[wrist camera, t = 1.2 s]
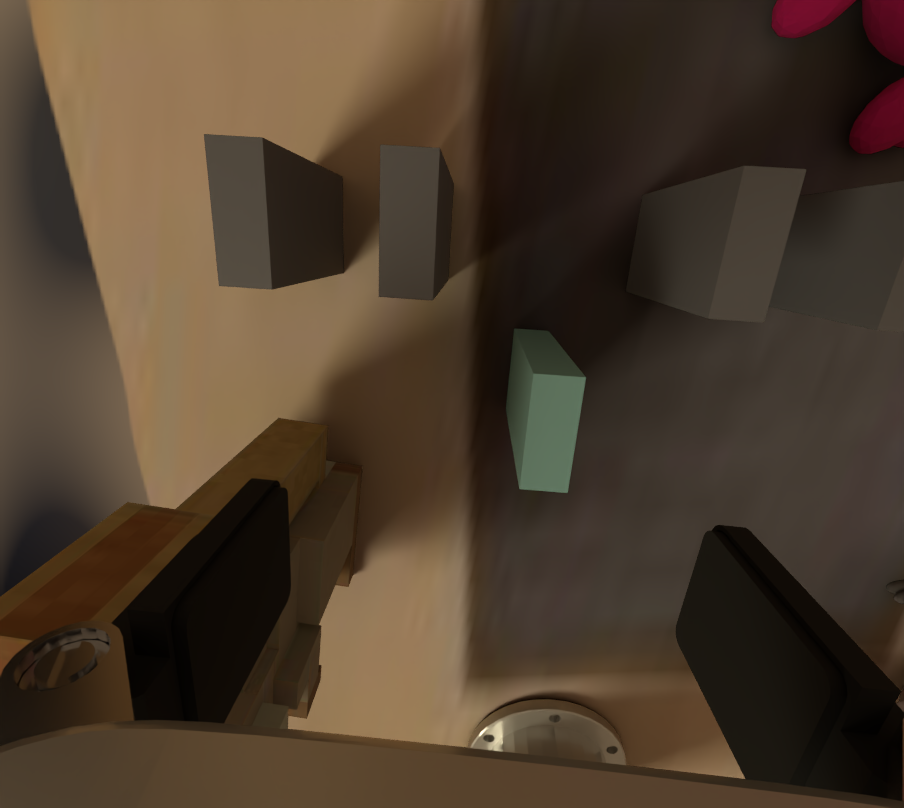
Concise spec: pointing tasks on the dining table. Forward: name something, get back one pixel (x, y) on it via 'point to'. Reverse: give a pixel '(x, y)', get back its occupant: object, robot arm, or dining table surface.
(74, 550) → the toy
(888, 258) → the domino
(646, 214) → the domino
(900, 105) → the toy
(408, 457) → the dining table surface
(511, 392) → the domino
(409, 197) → the domino
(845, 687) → the robot arm
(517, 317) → the dining table surface
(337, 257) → the domino
